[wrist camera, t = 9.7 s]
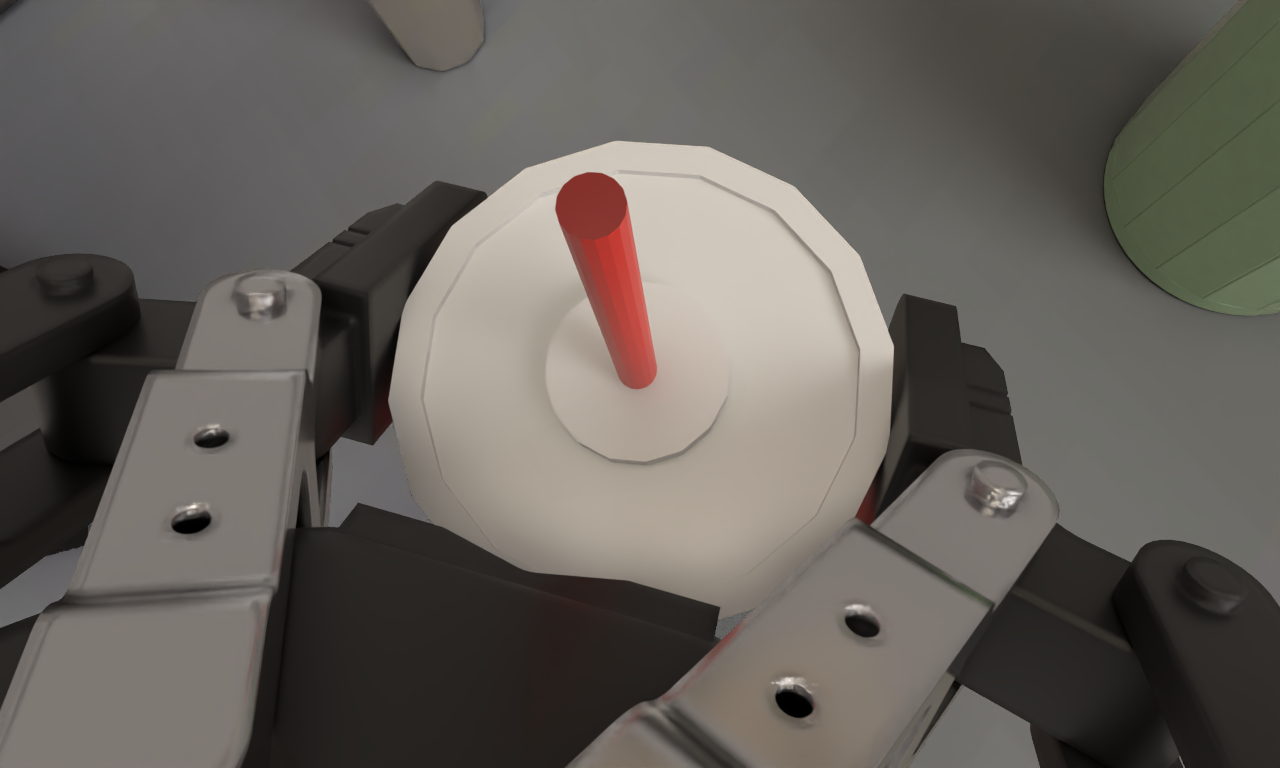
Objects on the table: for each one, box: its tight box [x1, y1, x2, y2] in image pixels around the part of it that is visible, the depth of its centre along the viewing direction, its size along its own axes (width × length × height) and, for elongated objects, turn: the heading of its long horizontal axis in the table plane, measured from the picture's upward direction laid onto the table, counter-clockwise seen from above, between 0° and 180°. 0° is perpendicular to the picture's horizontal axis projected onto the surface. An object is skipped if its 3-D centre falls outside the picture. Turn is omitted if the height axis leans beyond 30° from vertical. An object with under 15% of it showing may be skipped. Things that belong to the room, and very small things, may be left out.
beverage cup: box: [388, 141, 894, 620], centre depth 13 cm, size 6×6×14 cm
